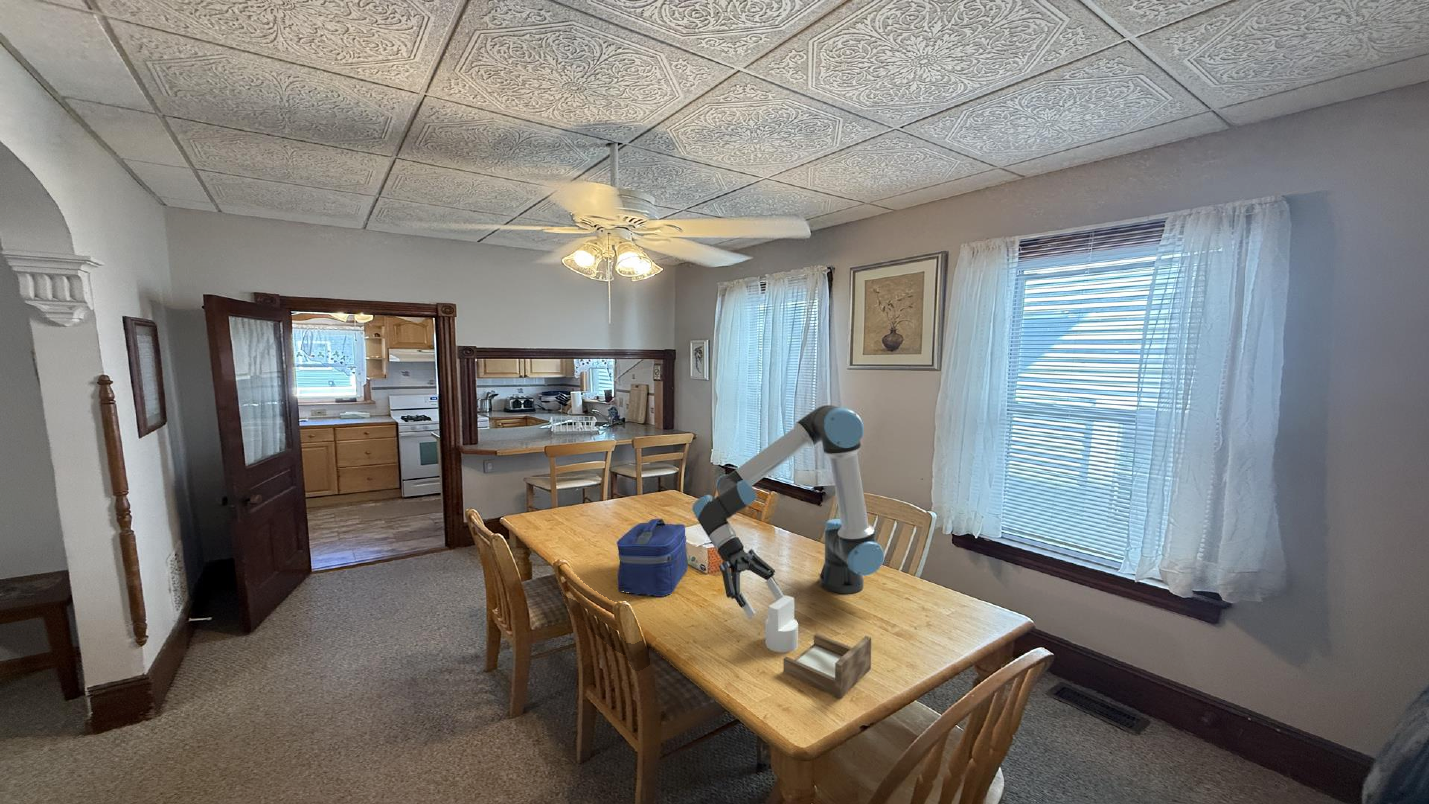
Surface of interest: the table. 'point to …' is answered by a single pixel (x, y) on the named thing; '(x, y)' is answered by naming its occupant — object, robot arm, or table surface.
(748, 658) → the table surface
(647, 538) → the lunch bag
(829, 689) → the walnut rest
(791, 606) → the base with upright slab
